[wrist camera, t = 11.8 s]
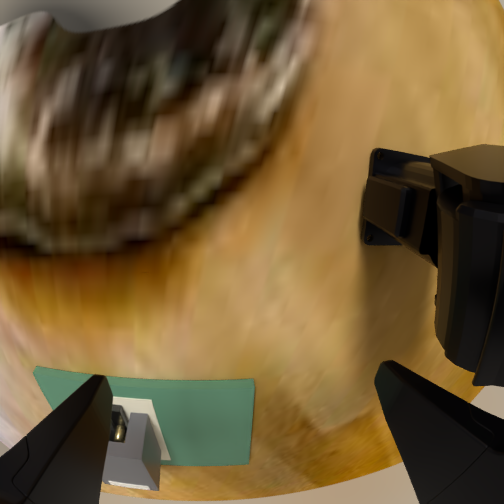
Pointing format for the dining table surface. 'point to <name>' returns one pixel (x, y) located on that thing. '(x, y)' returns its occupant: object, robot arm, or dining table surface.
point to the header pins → (119, 423)
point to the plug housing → (134, 456)
